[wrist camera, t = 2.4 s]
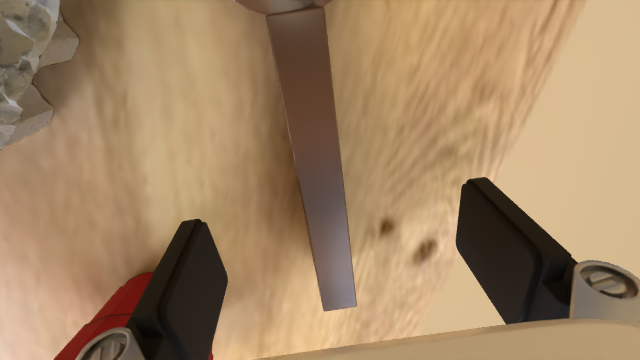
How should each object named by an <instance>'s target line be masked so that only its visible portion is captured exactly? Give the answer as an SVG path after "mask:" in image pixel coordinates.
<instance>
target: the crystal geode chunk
mask: <svg viewBox="0 0 640 360" xmlns="http://www.w3.org/2000/svg"><path fill="white" fill-rule="evenodd" d="M59 5H60V0H0V150H1V148H2V147H3V146H7V145H10V144H12V143H14V142H17V141H19V140H21V139H22V138H24V137H26V136H28V135H31V134H33V133H35V132H38V131H39V130H40V129H42V128H44V127H46V126H48V125H49V123H50V121H51V118H52V115H53V108H52V106H51V105H50V104H49V103H47V102H46V101H45V100H44V99H43V98H42V97H41V95H40V93H39V92H38V90H37V88H36V87H35V86H34V85H33V84H32V79H33V76H34V74H35V73H36V72H37V71H38V69H39V68H40V67H43V66H47V65H51V64H55V63H59V62H64V61H69V60H71V59H72V57H73V56H74V55H75V53H76V48H77V46H78V44H79V38H78V37H77V35H76V34H75V33H74V32H73V31H72V30H71V29H70V28H69V27H68V26H67V25H66V24H65V22H64V21H63V18H62V15H61V13H60V11H59Z"/></svg>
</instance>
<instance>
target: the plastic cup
mask: <svg viewBox="0 0 640 360" xmlns="http://www.w3.org/2000/svg"><path fill="white" fill-rule="evenodd" d="M153 274H154V272H153V273H143V274H141V275H139V276H137V277H134V278H132V279H130V280H128V281H127V283H126V284H125V285H124V286H121V287H120V288H119V289H118V290H117V291H116V293H115V294H114V295H113V296H112V297H111V298H110V300H109V301H108V302H107V303H106V304H105V305H104V306H103V308H102V309H101V310H100V311H99V312H98V313H97V315H96V316H95V317H94V318H93V319H92V320H91V322H90V323H88V324H86V325H84V326H83V328H82V329H81V330H80V331H79V332H78V333H77V334H76V335H75V336H74V337H73V339H72V340H71V341H70V342H69V343H68V344H67V345H66V346H65V347H64V349H63V350H62V351H61V352H60V353H59V354H58V355H57V356H56V357H55V358H54V360H75V359H76V357H77V356H78V354H79V353H80V351H81V350H82V349H83V348H84V347H85V346H86V345H87V344H88V343H89V342H90V341H91V340H93V339H94V338H95V337H97V336H98V335H100V334H101V333H103V332H105V331H107V330H110V329H113V328H117V327H125V325H126V324H127V322H128V320H129V318H130V316H131V314H132V312H133V311H134V309H135V307H136V305H137V303H138V301H139V299H140V298H141V296H142V294H143V292H144V290H145V288H146V287H147V285H148V283H149V281H150V279H151V277H152V275H153ZM208 360H213V354H212V346H211V350H210V354H209V358H208Z"/></svg>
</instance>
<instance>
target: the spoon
mask: <svg viewBox="0 0 640 360" xmlns="http://www.w3.org/2000/svg"><path fill="white" fill-rule="evenodd" d="M232 1H234V2H235V3H237V4H239V5H241V6H243V7H245V8H247V9H249V10H252V11H254V12H257V13H260V14H265V15H267V16H266V20H267V25H268V30H269V36H270V41H271V46H272V51H273V56H274V61H275V66H276V71H277V76H278V82H279V87H280V92H281V97H282V102H283V107H284V112H285V117H286V122H287V128H288V133H289V138H290V143H291V148H292V153H293V158H294V163H295V168H296V174H297V179H298V184H299V189H300V194H301V199H302V204H303V209H304V214H305V220H306V225H307V230H308V235H309V240H310V245H311V250H312V255H313V260H314V265H315V271H316V276H317V281H318V286H319V291H320V296H321V301H322V306H323V311H331V310H338V309H344V308H351V307H356V306H357V302H356V293H355V284H354V275H353V266H352V256H351V247H350V238H349V229H348V220H347V211H346V202H345V193H344V184H343V175H342V165H341V156H340V147H339V138H338V129H337V120H336V111H335V102H334V93H333V84H332V74H331V65H330V56H329V47H328V38H327V29H326V20H325V11H324V7H322V6H324V5H326V4H328V3H329V2H331V1H332V0H232Z"/></svg>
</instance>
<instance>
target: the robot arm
mask: <svg viewBox="0 0 640 360" xmlns="http://www.w3.org/2000/svg"><path fill="white" fill-rule="evenodd" d="M456 247H457V249H458V251H459V253H460V254H461V256H462V257H463V259H464V260H465V262H466V264H467V265H468V267H469V268H470V270H471V271H472V273H473V274H474V276H475V277H476V279H477V280H478V282H479V284H480V285H481V286H482V288H483V290H484V291H485V293H486V294H487V296H488V297H489V299H490V300H491V302H492V303H493V305H494V306H495V308H496V309H497V311H498V313H499V314H500V316H501V317H502V319H503V320H504V322H505V323H506V325H498V326H490V327H482V328H475V329H468V330H460V331H453V332H446V333H438V334H431V335H424V336H415V337H408V338H401V339H394V340H387V341H379V342H372V343H365V344H358V345H351V346H344V347H337V348H330V349H323V350H316V351H309V352H302V353H295V354H288V355H281V356H274V357H268V358H261V359H254V360H640V280H639V279H638V278H637V277H636V276H634V275H633V274H632V273H630V272H629V271H627V270H625V269H623V268H621V267H619V266H616V265H613V264H610V263H607V262H602V261H594V260H587V261H583V262H580V263H578V262H576V261H575V260H574V259H573V258H572V257H571V254H570V253H569V252H568V251H567V250H566V249H564V248H563V247H562V246H561V245H560V244H559V243H558V242H557V241H556V240H555V239H553V238H552V237H551V236H550V235H549V234H548V233H547V232H546V231H545V230H544V229H542V228H541V227H540V226H539V225H538V224H537V223H536V222H535V221H534V220H533V219H531V218H530V217H529V216H528V215H527V214H526V213H525V212H524V211H523V210H522V209H520V208H519V207H518V206H517V205H516V204H515V203H514V202H513V201H512V200H511V199H509V198H508V197H507V196H506V195H505V194H504V193H503V192H502V191H501V190H500V189H498V188H497V187H496V186H495V185H494V184H493V183H492V182H491V181H490V180H489V179H488V178H486V177H482V178H475V179H469V180H467V182H466V184H463V185H462V189H461V198H460V207H459V216H458V225H457V234H456ZM227 283H228V278H227V273H226V271H225V268H224V266H223V263H222V261H221V258H220V256H219V253H218V251H217V248H216V245H215V243H214V240H213V238H212V235H211V233H210V230H209V228H208V225H207V223H206V222H202V221H201V220H200V219H194V220H187V221H183V222H182V223H181V224H180V226H179V228H178V230H177V231H176V233H175V235H174V237H173V239H172V241H171V243H170V244H169V246H168V248H167V250H166V252H165V254H164V256H163V257H162V259H161V261H160V263H159V265H158V266H157V268H156V270H155V272H154V274H153V275H152V277H151V279H150V281H149V283H148V285H147V287H146V288H145V290H144V292H143V294H142V296H141V298H140V299H139V301H138V303H137V305H136V307H135V309H134V311H133V312H132V314H131V316H130V318H129V320H128V322H127V324H126V325H125V327H117V328H113V329H110V330H107V331H105V332H103V333H101V334H100V335H98V336H97V337H95V338H94V339H93V340H91V341H90V342H89V343H88V344H87V345H86V346H85V347H84V348H83V349H82V350H81V351H80V353H79V354H78V356H77V357H76V359H75V360H208V358H209V354H210V350H211V346H212V343H213V339H214V335H215V331H216V327H217V323H218V319H219V315H220V311H221V307H222V303H223V299H224V295H225V291H226V287H227Z"/></svg>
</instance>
